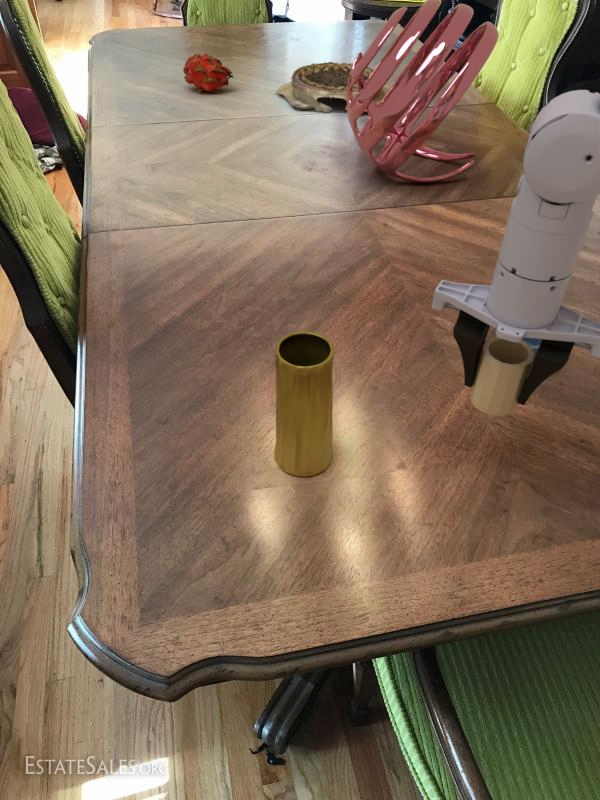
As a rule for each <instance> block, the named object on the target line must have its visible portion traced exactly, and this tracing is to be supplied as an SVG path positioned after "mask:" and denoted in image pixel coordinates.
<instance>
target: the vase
mask: <svg viewBox="0 0 600 800" xmlns="http://www.w3.org/2000/svg"><path fill="white" fill-rule="evenodd" d="M334 355H335V345H334V344H333V342H332V341H331V339H329V337H327V336H325V335H324V334H321V333H319V332H316V331H311V330H309V331H308V330H298V331H293V332H290V333H288V334H286V335H284V336H283V337H281V338H280V339H279V340H278V342H277V344H276V348H275V389H276V391H275V392H276V393H275V394H276V396H275V399H276V401H275V444H274V445H275V446H274V451H273V457H274V460H275V463H276V464H277V466H278V467H279V468H280V469H281V470H282V471H284V472H286V473H287V474H289V475H292V476H295V477H311V476H316V475H318V474H321V473H323V472H324V471H325V470H326V469H327V468H328V467H329V466H330V464H331V463H332V460H333V455H334V451H333V436H334V435H333V430H334V429H333V428H334V427H333V426H334V425H333V423H334V422H333V408H334V407H333V406H334V405H333V401H334V400H333V398H334V397H333V396H334V395H333V368H334Z"/></svg>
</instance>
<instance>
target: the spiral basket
mask: <svg viewBox="0 0 600 800" xmlns="http://www.w3.org/2000/svg"><path fill="white" fill-rule="evenodd" d="M441 4H442V1H441V0H425V1H424V2H423V3H422V4H421V6H420V7H419V8H418V9H417V10H416V11H415V13H414V14H413V16H412V17H411V18H410V20H409V21H408V23H407V24H406V25H405V26H404V28H403V29H402V31H401V32H400V33H399V34H398V36H397V37H396V38H395V40H394V41H393V43H392V44H391V45H390V47H389V49H388V50H387V51H386V53H385V54H384V55H383V57H381V60H380V61H379V63H378V64H377V65H376V67H375V68H373V70H374V71H373V72H372V74H371V75H370V77H369V78H368V79H367V80H366V81H364V78H363V72H364V71H365V69H366V68H367V67H369V65H370V64H371V63H372V62H373V60H374V58H375V57H376V56H377V54H378V53H379V51H380V50H381V48H382V47H383V46H384V44H385V43H386V42H387V41H388V39H389V37H390V36H391V34H392V33H393V32H394V30H395V28H396V27H397V26H398V24H399V22H401V20H402V18H403V17H404V15H405V14H406V12H407V11H408V7H407V6H402V7H400V8H398V9H396V10H395V11H393V13H392V14H391V15H390V17H389V18H388V20H387V21H386V22H385V24H384V25H383V26H382V28H381V29H380V31H379V32H378V34H377V35H376V37H375V38H374V39H373V40H372V42H371V44H370V45H369V47H368V48H367V50H366V51H365V52H364V54H363V53H362V52H361V51H360V52H359V53H358V54H357V57H355V58H354V59H353V62H352V67H351V70H350V73H349V77H348V81H347V100H346V106H347V110H346V116H347V120H348V123H349V126H350V128H351V131H352V134H353V136H354V138H355V140H356V144H357V146H358V148H359V149H360V151H361V152H362V153H363V154H364V155H365V156H366V157H367V158H368V159H369V160H370V162H372V163H373V164H374V166H376V168H378V169H379V170H380V171H381V172H383V173H384V174H386V175H389V176H391V177H393V178H397V179H399V180H401V181H404V182H409V183H415V184H431V183H438V182H439V183H440V182H442V181H446V180H449V179H451V178H454V177H457V176H459V175H460V174H462V173H464V172H465V171H467V170H468V169H469V168H471V167H472V166H473V165H474V164H475V160H473V159H472V160H470V161H468V162H466V163H464V164H463V165H462V166H460V167H459V168H457V169H455V170H453V171H451V172H448V173H444V174H441V175H436V176H430V177H429V176H428V177H418V176H412V175H407V174H404V173H402V172H399V171H397V169H399V168H401V166H402V165H404V164H405V163H406V162H407V161H408V160H409V159H410V158H411V157H412V156H413V155H414V154H415V155H417V156H420V157H423V158H427V159H431V160H434V161H443V162H457V161H465V160H468V159H471V158H473V157H475V156H476V155H477V154H476V153H475V152H467V153H450V152H449V153H448V152H445V151H444V152H443V151H440V150H437V149H433V148H431V147H429V146H426V145H424V143H425V142H427V140H429V138H430V137H431V135H432V134H433V133H434V132H435V131H436V130H437V128H438V127H439V126H440V125H441V124H442V123H443V121H444V120H445V119H446V117H447V116H448V115H449V114H450V112H451V111H452V110H453V109H454V107H456V105H458V104H457V103H458V102H459V101H460V100H461V99H462V97H463V96H464V94H466V92H467V90H468V89H469V87H470V86H471V85H472V84H473V82H474V81H475V80H476V78H477V77H478V75H479V74H480V72H481V70H482V69H483V67H484V66H485V64H486V63H487V61H488V60H489V58H490V57H491V55H492V53H493V51H494V49H495V47H496V46H497V43H498V41H499V35H500V32H499V30H498V29H497V27H496V26H495V24H493V23H492V22H491V21H485V22H483V23H482V24H480V25H479V26H478V27H477V28H475V30H473V31H472V33H470V34H469V36H467V37H466V39H465V40H464V41H463V42H462V43H461V44H460V45H459V46H458V47H457V48H456V49H455V51H454V52H453V53H451V52H452V51H453V50H454V48H455V46H456V45H457V43H458V42H459V40H460V38H461V37H462V35H463V34H464V33H465V31H466V29H467V27H468V26H469V24H470V22H471V21H472V18H473V16H474V14H475V13H474V9H473V8H472V7H471V6H470V5H468V4H465V3H458V4H457V5H455V6H454V7H453V8H452V10H450V11H449V13H447V15H446V16H445V17H444V18H443V19H442V21H441V22H440V23H439V24H438V25H437V26H436V28H435V29H434V30H433V31H432V33H430V35H429V36H428V38H427V39H426V40H425V42H423V44H422V45H421V46H420V48H419V49H418V50H417V51H416V53H415V54H414V56H413V57H412V58H411V60H410V61H409V62H408V63H407V65H406V66H405V68H404V69H403V70H402V72H401V73H400V74H399V76H398V77H397V78H396V79H395V81H394V82H393V84H392V85H391V86H390V87H391V88H390V89H389V91H388V92H387V94H386V95H385V97H384V98H383V99H382V101H381V102H380V103H379V104H376V103H375V102H374V101H373V100H374V98H375V97H376V96H377V94H378V93H379V92H380V91H381V89H382V88H383V87H384V85H385V84H386V85H387V82H389V80H390V78H391V77H392V76H393V75H394V73H395V72H396V70H397V69H398V68H399V66H400V65H401V63H403V61H404V60H405V58H406V57H407V56H408V54H409V53H410V51H412V49H413V47H414V46H415V44H416V43H417V41H418V40H419V39H420V37H421V36H422V34H423V33H424V31H425V30H426V28H427V27H428V25H429V24H430V22H431V21H432V19H433V18H434V16H435V15H436V13H437V11H438V10H439V8H440V7H441ZM450 53H451V55H450ZM449 55H450V56H449ZM448 56H449V57H448ZM446 59H447V60H446ZM460 68H461V69H460ZM459 69H460V71H458V70H459ZM457 71H458V73H457ZM456 73H457V74H456ZM455 74H456V76H455V77H454V79H452V77H453V76H454V75H455ZM450 79H452V81H451V83H450V84H449V85H448V87H447V88H446V89H445V91H444V92H443V94H442V95H441V96H440V97H439V98H438V100H436V103H435V104H433V106H432V107H431V109H430V110H429V111H428V112H427V113H426V115H425V116H424V117H423V119H422V120H421V121H420V122H419V124H418V125H416V127H415V128H414V129H413V127H414V126H415V124H416V123H417V121H418V120H419V119H420V117H421V116H422V115H423V113H424V112H425V111H426V109H427V108H428V107H429V105H430V104H431V103H432V101H433V100H435V98H436V97H437V95H438V94H439V93H440V92H441V91H442V89H443V88H444V87H445V85H447V83H448V82H449V81H450ZM356 82H357V88H358V91H357V95H356V97H355V99H354V100H353V101H352V93H353V86H354V85H355V83H356ZM365 110H367V111H366V113H367V117H368V119H367V121H366V123H365V125H364V126H363V128H362V130H361V131H360V130H359V127H358V120H359V118H361V116H362V115H363V114H364V113H365V112H364V111H365ZM363 112H364V113H363ZM400 119H401V120H400ZM412 129H413V131H411V130H412ZM410 132H411V133H410ZM385 137H386V142H385V144H384V146H383V147H382V149H381V150H380V153H379V155H378V157H377V156H376V155H375V154H374V152H373V149H374V148H375V147H377V145H379V143H380V142H381V141H382V140H383V139H384V138H385Z"/></svg>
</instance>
